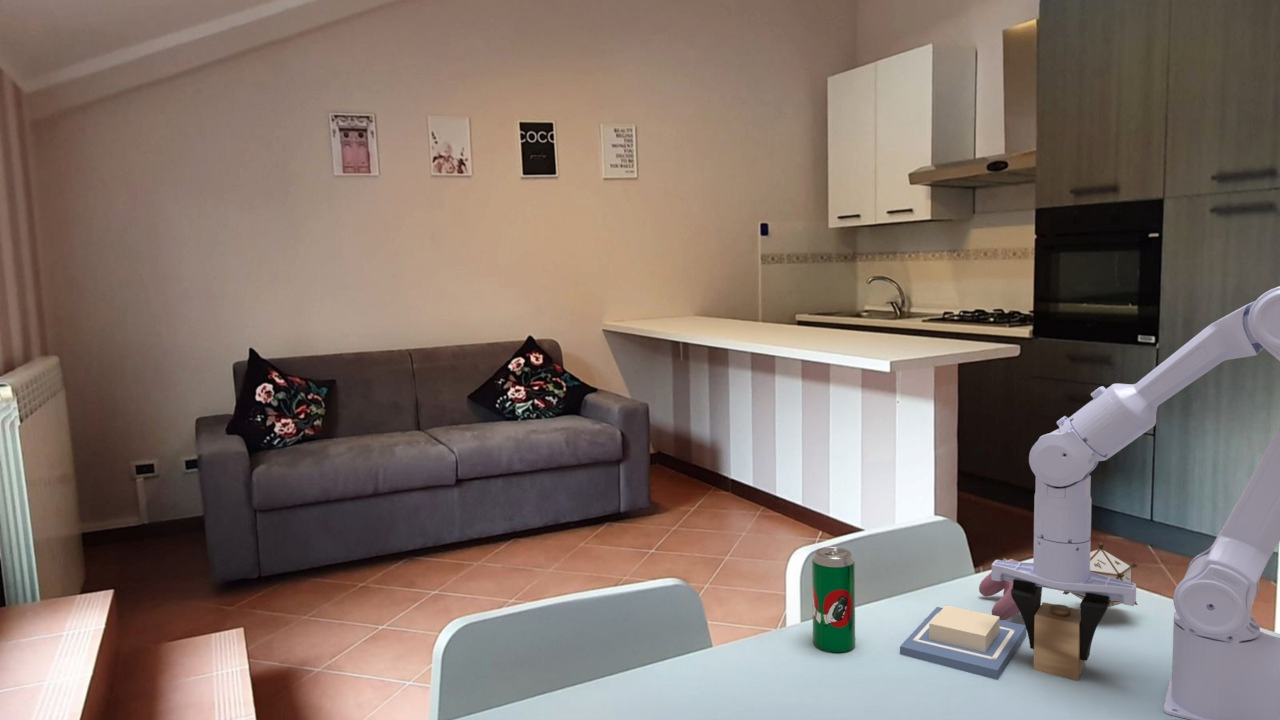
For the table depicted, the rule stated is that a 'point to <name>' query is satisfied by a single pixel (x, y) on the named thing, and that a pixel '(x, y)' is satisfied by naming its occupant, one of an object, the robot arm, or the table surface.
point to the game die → (1108, 569)
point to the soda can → (833, 599)
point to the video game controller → (1006, 604)
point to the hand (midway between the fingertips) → (1059, 651)
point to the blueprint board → (963, 658)
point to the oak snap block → (1058, 641)
